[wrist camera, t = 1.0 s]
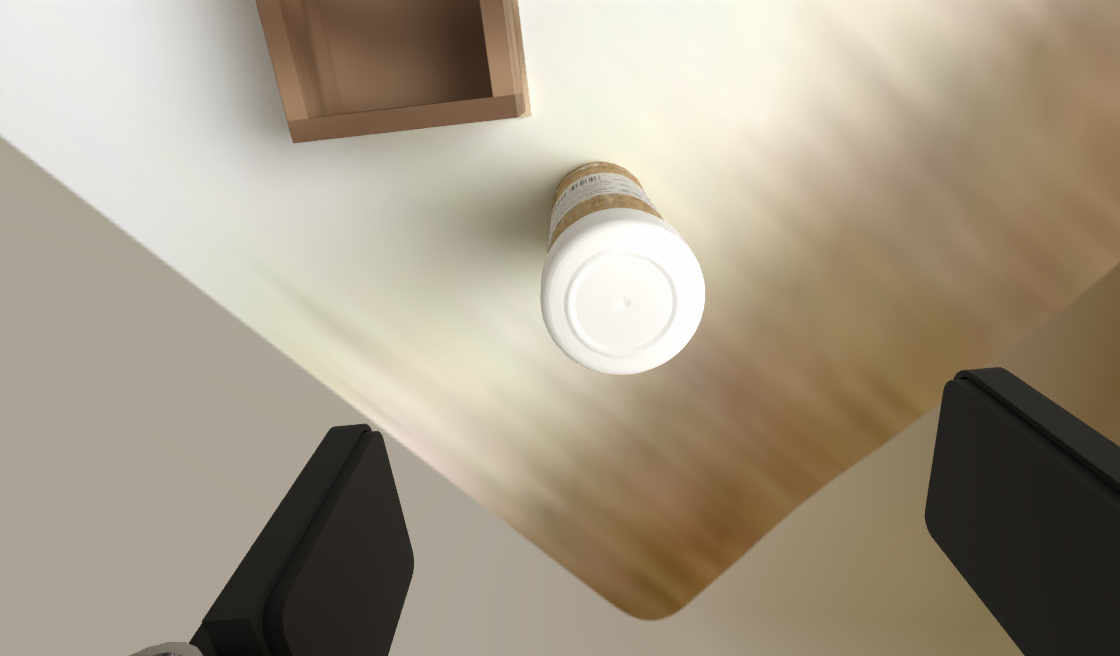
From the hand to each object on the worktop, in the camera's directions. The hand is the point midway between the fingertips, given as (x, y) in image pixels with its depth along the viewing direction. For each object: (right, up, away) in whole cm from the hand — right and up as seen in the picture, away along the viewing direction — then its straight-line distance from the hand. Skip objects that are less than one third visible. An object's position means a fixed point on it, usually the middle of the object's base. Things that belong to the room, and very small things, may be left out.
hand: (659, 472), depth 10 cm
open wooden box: (-8, +16, +16) cm, 24 cm away
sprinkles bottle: (0, +8, +19) cm, 21 cm away
